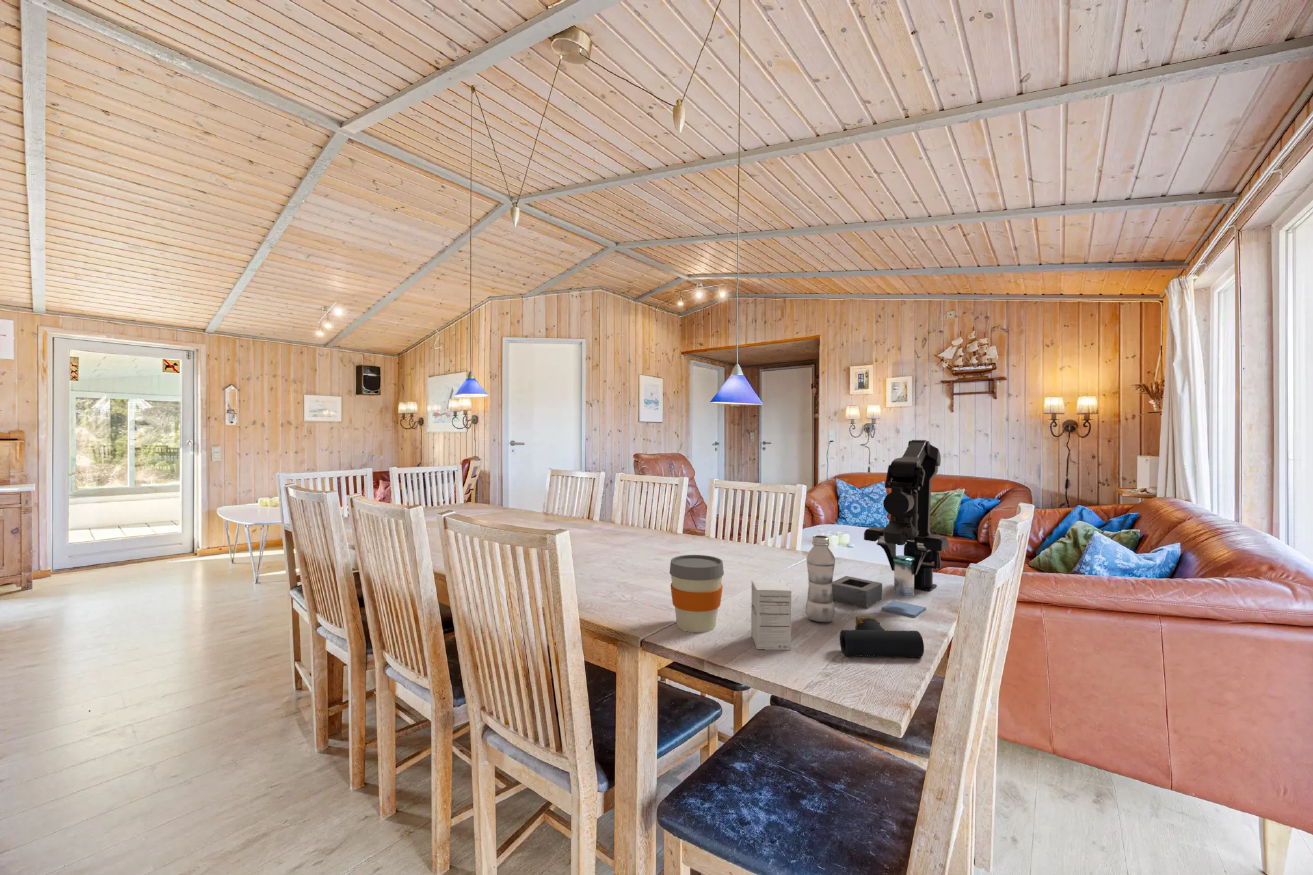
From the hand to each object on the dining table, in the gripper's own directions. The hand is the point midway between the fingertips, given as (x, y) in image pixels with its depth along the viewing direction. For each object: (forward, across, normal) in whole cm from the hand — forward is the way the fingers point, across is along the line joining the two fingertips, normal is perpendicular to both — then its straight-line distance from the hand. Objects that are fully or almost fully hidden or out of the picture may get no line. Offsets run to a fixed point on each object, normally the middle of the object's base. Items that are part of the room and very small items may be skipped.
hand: (904, 572), depth 136 cm
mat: (+10, 0, 0) cm, 10 cm away
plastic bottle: (+10, -12, -22) cm, 27 cm away
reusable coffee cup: (+10, -30, -45) cm, 55 cm away
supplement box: (+10, -12, -42) cm, 45 cm away
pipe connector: (+10, +4, -29) cm, 31 cm away
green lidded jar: (+6, 0, 0) cm, 6 cm away
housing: (+10, -12, -1) cm, 15 cm away
